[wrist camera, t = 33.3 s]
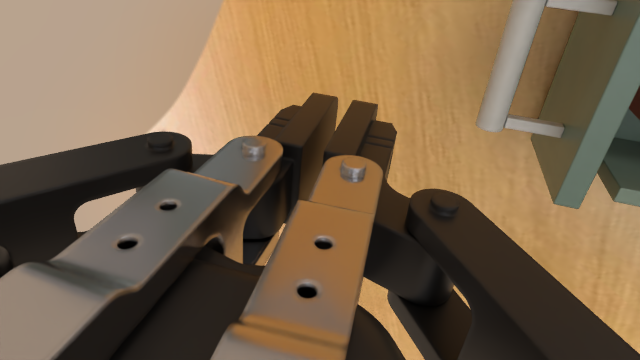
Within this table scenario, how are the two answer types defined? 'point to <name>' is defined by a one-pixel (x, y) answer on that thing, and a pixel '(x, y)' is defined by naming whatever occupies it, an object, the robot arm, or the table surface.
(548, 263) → the table surface
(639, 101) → the block
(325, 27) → the table surface
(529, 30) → the drawer
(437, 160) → the table surface
